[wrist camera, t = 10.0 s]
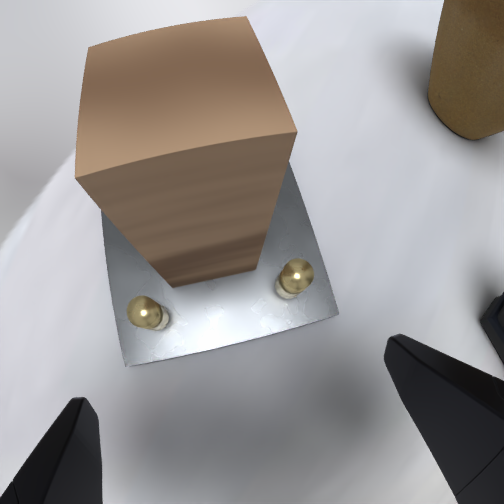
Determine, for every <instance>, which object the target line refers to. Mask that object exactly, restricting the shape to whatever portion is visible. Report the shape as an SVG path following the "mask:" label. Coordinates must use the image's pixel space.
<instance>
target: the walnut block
mask: <svg viewBox="0 0 504 504" xmlns="http://www.w3.org/2000/svg"><path fill="white" fill-rule="evenodd" d="M296 135H297V129H296V127H295V124H294V122H293V119H292V117H291V114H290V112H289V109H288V107H287V104H286V102H285V100H284V97H283V95H282V93H281V90H280V88H279V86H278V83H277V81H276V79H275V76H274V74H273V72H272V70H271V67H270V65H269V63H268V61H267V59H266V56H265V54H264V52H263V50H262V48H261V45H260V43H259V41H258V39H257V37H256V35H255V33H254V31H253V29H252V27H251V25H250V23H249V20H248V18H247V16H244V17H232V18H223V19H214V20H206V21H199V22H193V23H187V24H180V25H175V26H170V27H164V28H160V29H155V30H150V31H146V32H142V33H138V34H133V35H129V36H126V37H122V38H119V39H115V40H111V41H108V42H104V43H101V44H98V45H95V46H92V47H89V48H88V53H87V58H86V64H85V70H84V77H83V84H82V92H81V99H80V108H79V117H78V128H77V141H76V159H75V179H76V180H77V181H78V183H79V184H80V185H81V186H82V187H83V189H84V190H85V191H86V192H87V193H88V195H89V196H90V197H91V198H92V199H93V201H94V202H95V203H96V204H97V205H98V207H99V208H100V209H101V210H102V211H103V212H104V214H105V215H106V216H107V217H108V218H109V219H110V221H111V222H112V223H113V224H114V225H115V226H116V227H117V229H118V230H119V231H120V232H121V233H122V234H123V235H124V236H125V238H126V239H127V240H128V241H129V242H130V243H131V244H132V245H133V246H134V247H135V249H136V250H137V251H138V252H139V253H140V254H141V255H142V256H143V257H144V258H145V259H146V261H147V262H148V263H149V264H150V265H151V266H152V267H153V268H154V269H155V270H156V271H157V272H158V273H159V274H160V275H161V277H162V278H163V279H164V280H165V281H166V282H167V283H168V284H169V285H170V286H171V287H172V288H175V287H180V286H184V285H189V284H194V283H198V282H203V281H208V280H212V279H217V278H222V277H226V276H231V275H235V274H240V273H244V272H249V271H253V270H256V268H257V264H258V261H259V258H260V255H261V251H262V248H263V245H264V241H265V238H266V235H267V232H268V228H269V225H270V222H271V218H272V215H273V212H274V208H275V205H276V202H277V199H278V195H279V192H280V189H281V185H282V182H283V179H284V175H285V172H286V169H287V165H288V162H289V158H290V155H291V152H292V148H293V145H294V142H295V138H296Z"/></svg>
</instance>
